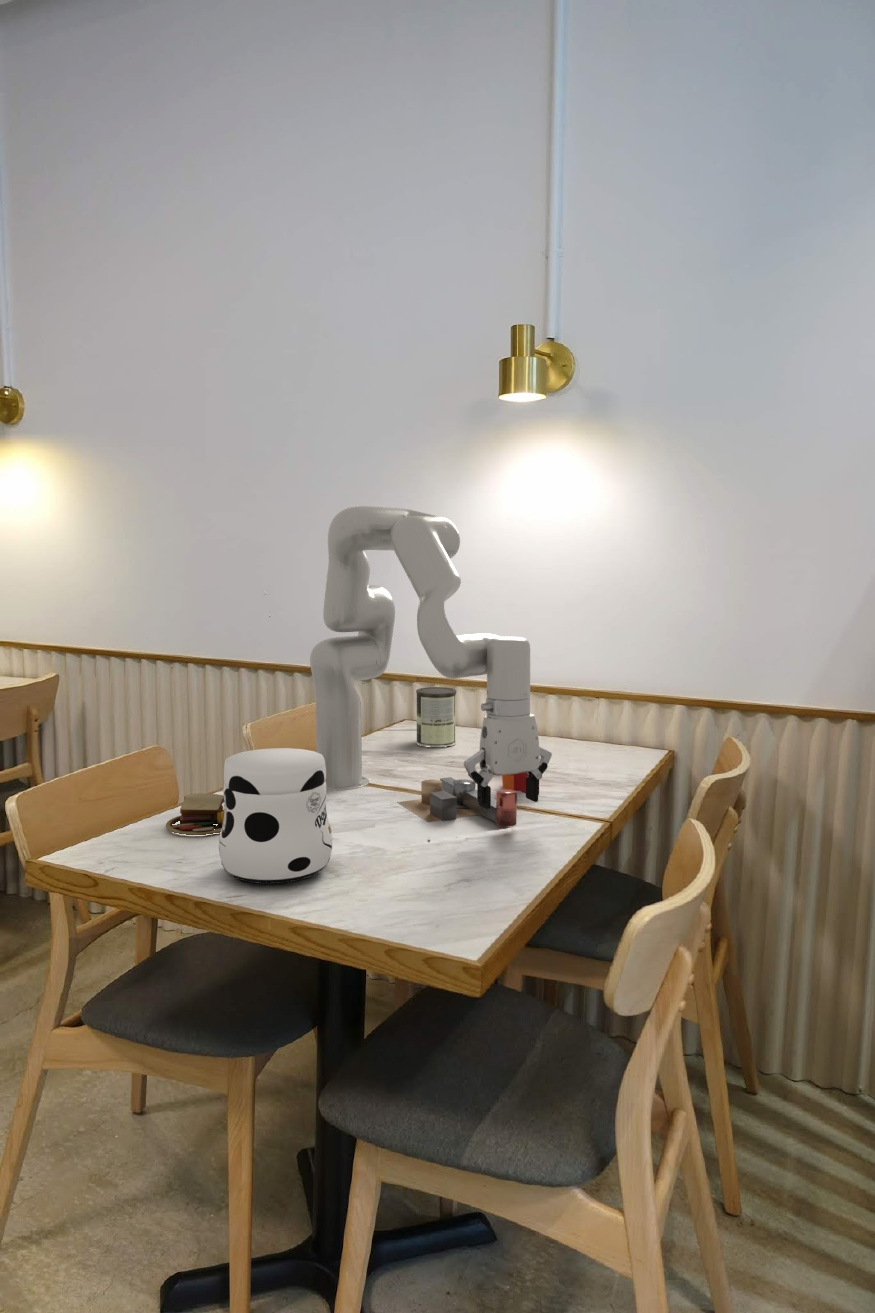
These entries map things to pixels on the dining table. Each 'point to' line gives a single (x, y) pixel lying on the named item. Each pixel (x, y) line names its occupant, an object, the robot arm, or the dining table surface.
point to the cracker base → (426, 810)
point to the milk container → (275, 815)
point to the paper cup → (515, 781)
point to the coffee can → (436, 716)
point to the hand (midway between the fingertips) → (508, 803)
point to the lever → (466, 794)
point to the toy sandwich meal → (199, 815)
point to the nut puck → (429, 789)
